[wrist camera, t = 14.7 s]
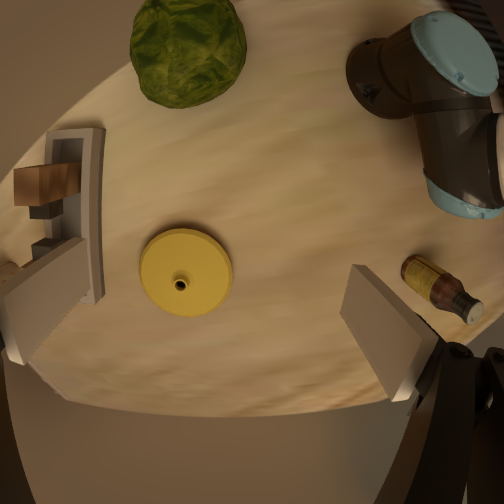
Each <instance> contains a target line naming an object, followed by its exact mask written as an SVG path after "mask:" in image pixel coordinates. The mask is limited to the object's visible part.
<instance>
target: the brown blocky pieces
mask: <svg viewBox="0 0 504 504" xmlns="http://www.w3.org/2000/svg"><path fill="white" fill-rule="evenodd" d="M105 133H106V129H98V128H81V129H66V130H54V131H47V134H46V147H45V164H53V163H61V162H82V173H81V193H77V194H74V195H71V196H68V197H65V198H63V214H62V215H59V216H57V217H55V218H52V219H50V220H46V219H45V233H46V238H43V239H41V240H40V241H38V242H36V243H34V244H32V245H31V247H32V256H33V259H32V260H31V261H29V262H28V263H26V264H25V265H23V266H22V267H20V271H22V270H23V269H25V268H26V267H28V266H29V265H31V264H32V263H34V262H35V261H37V260H38V259H40V258H41V257H43V256H44V255H46V254H47V253H49V252H51V251H52V250H54V249H55V248H57V247H59V246H60V245H62V244H63V243H65V242H67V241H68V240H70V239H72V238H73V237H79V238H87V254H88V268H89V279H90V290H89V291H88V292H87V293H86V294H85V295H84V296H83V297H82V299H81V300H80V301H79V302H81V303H87V304H92V305H96V303H97V302H98V301H99V300H100V298H102V297H103V296H104V295H105V287H104V274H103V258H102V229H101V201H102V172H103V156H104V144H105Z"/></svg>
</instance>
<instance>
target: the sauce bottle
mask: <svg viewBox="0 0 504 504" xmlns="http://www.w3.org/2000/svg"><path fill="white" fill-rule="evenodd" d="M401 276H402V279H403V280H404V281H405V282H406V284H407V285H408V286H409V287H411V288H412V289H413V290H414V291H416V292H417V293H418V294H420V295H421V296H422V297H423V298H425V299H426V300H427V301H429V302H430V303H431V304H432V305H433V306H435V307H436V308H438V309H440V310H444V311H449V312H453V313H455V314H457V315H458V316H460V317H461V318H462V319H463V321H464V322H465V323H467V324H468V325H474V324H475V323H477V322H478V320H479V319H480V317H481V316H482V313H483V310H484V305H483V303H482V302H481V301H479V300H478V299H474V298H473V297H471V296H470V295H469V294H468V293H466V292H465V290H464V287H463V285H462V283H461V281H460V280H458V279H457V278H455V277H453V276H452V275H451V274H450V273H448V272H446V271H445V270H443V269H441V268H440V267H438V266H436V265H435V264H433V263H431V262H430V261H428V260H426V259H425V258H422V257H420V256H413V257H410V258H409V259H407V260H406V262H405V263H404V265H403V267H402V271H401Z"/></svg>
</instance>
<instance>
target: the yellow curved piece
mask: <svg viewBox="0 0 504 504" xmlns="http://www.w3.org/2000/svg"><path fill="white" fill-rule="evenodd" d="M139 276H140V280H141V284H142V287H143V288H144V290H145V292H146V294H147V296H148V297H149V298H150V299H151V300H152V301H153V302H154V304H156V305H157V306H158V307H160V308H161V309H163V310H164V311H166V312H169V313H171V314H174V315H177V316H183V317H194V316H201V315H204V314H207V313H209V312H211V311H213V310H214V309H216V308H217V307H219V306H220V304H221V303H222V302H223V301H224V300H225V299H226V297H227V295H228V293H229V291H230V289H231V284H232V278H233V275H232V267H231V263H230V261H229V258H228V256H227V253H226V252H225V251H224V250H223V248H222V247H221V246H220V244H219V243H218V242H216V241H215V240H214V239H212V238H211V237H210V236H208V235H206V234H204V233H202V232H199V231H197V230H192V229H185V228H180V229H172V230H168V231H166V232H163V233H161V234H159V235H157V236H156V237H155V238H154V239H153V240H151V241H150V242H149V243H148V245H147V246H146V248H145V249H144V251H143V253H142V256H141V259H140V262H139ZM182 281H183V282H182Z"/></svg>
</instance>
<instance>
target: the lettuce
mask: <svg viewBox="0 0 504 504" xmlns="http://www.w3.org/2000/svg"><path fill="white" fill-rule="evenodd" d="M246 52H247V45H246V37H245V33H244V29H243V25H242V23H241V21H240V19H239V18H238V16H237V14H236V11H235V9H234V6H233V4H232V3H231V2H230V1H229V0H146V1H145V2H144V4H143V5H142V7H141V8H140V9H139V11H138V13H137V14H136V16H135V19H134V24H133V32H132V36H131V40H130V57H131V61H132V64H133V67H134V69H135V71H136V73H137V75H138V78H139V83H140V88H141V91H142V92H143V94H144V95H145V96H146V97H147V99H148V100H150V101H153V102H155V103H157V104H160V105H162V106H165V107H167V108H176V109H183V108H188V107H193V106H198V105H200V104H203V103H205V102H208V101H211V100H213V99H214V98H216V97H217V96H219V95H221V94H223V93H224V92H225V91H226V90H227V89H228V88H230V87H231V86H232V85H233V84H234V82H235V81H236V79H237V77H238V76H239V74H240V72H241V70H242V68H243V66H244V64H245V59H246Z"/></svg>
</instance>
